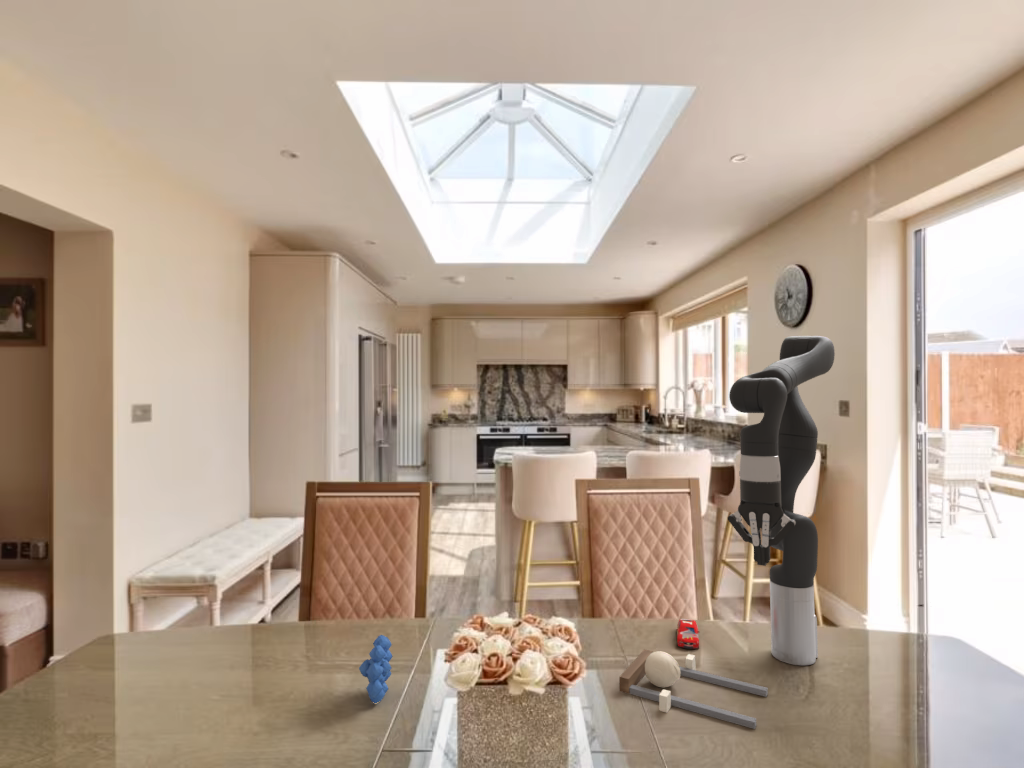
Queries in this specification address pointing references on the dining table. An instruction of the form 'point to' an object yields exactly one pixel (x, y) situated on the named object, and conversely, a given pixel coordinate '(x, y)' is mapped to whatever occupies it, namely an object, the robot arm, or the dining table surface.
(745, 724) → the rails
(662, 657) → the cream round ball
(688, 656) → the line posts
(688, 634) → the race car
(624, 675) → the backstop
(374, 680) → the grapes
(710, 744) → the dining table surface
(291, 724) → the dining table surface
